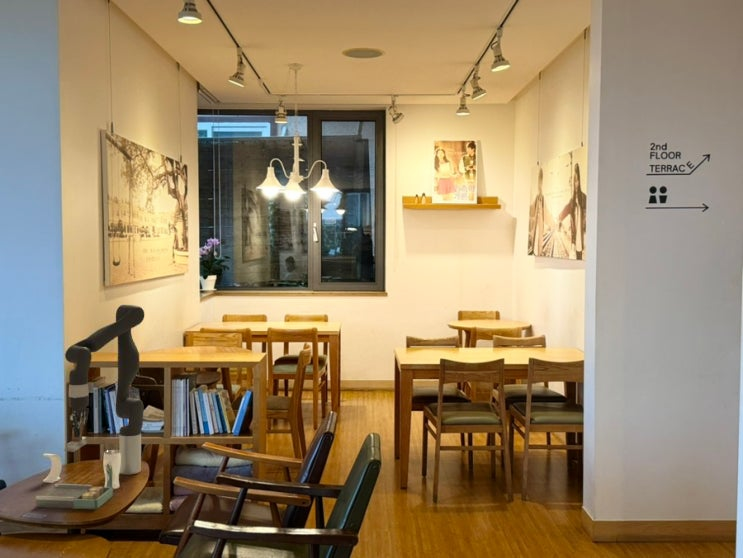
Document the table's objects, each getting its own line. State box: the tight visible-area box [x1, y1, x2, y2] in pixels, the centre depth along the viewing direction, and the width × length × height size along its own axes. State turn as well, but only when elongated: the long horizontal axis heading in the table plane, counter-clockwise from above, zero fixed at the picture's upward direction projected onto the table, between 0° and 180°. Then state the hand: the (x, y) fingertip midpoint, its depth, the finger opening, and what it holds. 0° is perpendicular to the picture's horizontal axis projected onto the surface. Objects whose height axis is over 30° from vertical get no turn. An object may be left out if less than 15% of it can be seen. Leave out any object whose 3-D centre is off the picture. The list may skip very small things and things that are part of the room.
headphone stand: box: [42, 453, 63, 484], centre depth 297 cm, size 5×6×12 cm
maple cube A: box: [89, 485, 104, 498], centre depth 275 cm, size 4×4×4 cm
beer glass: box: [103, 449, 121, 490], centre depth 290 cm, size 7×7×15 cm
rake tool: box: [66, 418, 87, 453], centre depth 285 cm, size 11×3×12 cm, turn 178°
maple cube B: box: [82, 492, 97, 500], centre depth 269 cm, size 4×4×4 cm
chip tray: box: [74, 486, 114, 511], centre depth 272 cm, size 15×9×4 cm, turn 177°
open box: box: [35, 483, 93, 510], centre depth 273 cm, size 15×15×4 cm
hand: (79, 435), depth 285 cm, fingers closed on rake tool, 3 cm apart
